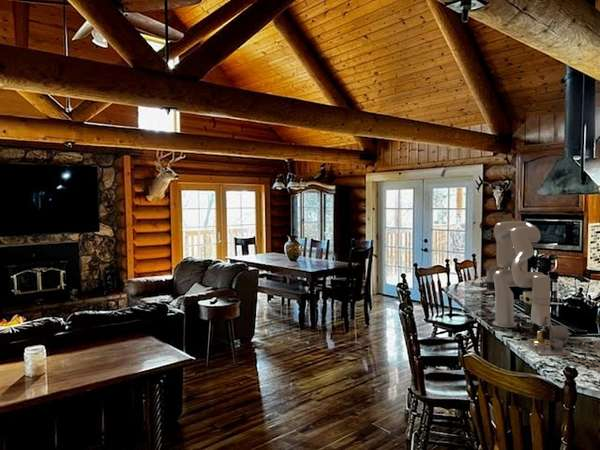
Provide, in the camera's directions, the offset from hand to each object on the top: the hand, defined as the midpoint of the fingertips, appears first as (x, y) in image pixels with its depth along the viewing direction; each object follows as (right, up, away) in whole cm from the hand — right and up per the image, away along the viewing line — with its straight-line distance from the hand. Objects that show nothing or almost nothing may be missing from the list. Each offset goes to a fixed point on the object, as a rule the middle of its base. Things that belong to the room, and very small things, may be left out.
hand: (540, 335), depth 214 cm
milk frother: (+37, +2, +147) cm, 151 cm away
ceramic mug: (+14, -5, +9) cm, 17 cm away
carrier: (+1, -6, -2) cm, 6 cm away
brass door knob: (0, -4, 0) cm, 4 cm away
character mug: (+28, -2, +65) cm, 71 cm away
